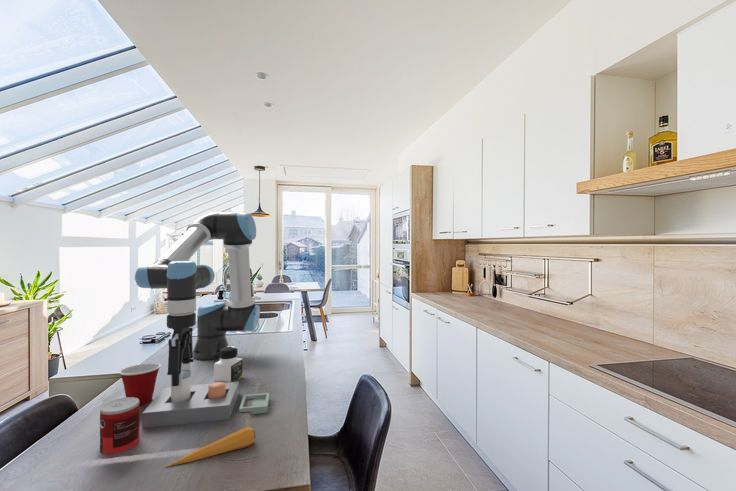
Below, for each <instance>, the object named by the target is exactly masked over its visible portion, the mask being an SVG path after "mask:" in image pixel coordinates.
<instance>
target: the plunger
mask: <svg viewBox="0 0 736 491" xmlns="http://www.w3.org/2000/svg"><path fill="white" fill-rule="evenodd" d="M226 383H227V382H226V381H214V382H213V383H209V384H210V385H209V386H208V399H215V398H226Z"/></svg>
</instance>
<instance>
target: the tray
mask: <svg viewBox="0 0 736 491" xmlns="http://www.w3.org/2000/svg"><path fill="white" fill-rule="evenodd" d="M251 399H252V401H251V405H250V406H245V403H246V400H251ZM269 404H270V392H263V393H252V394H243V396H242V399H241V402H240V404H239V408H238V413H246V412H248V415H257V414H258V415H259V414H267V413H268V409H269Z"/></svg>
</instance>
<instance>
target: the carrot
mask: <svg viewBox="0 0 736 491" xmlns="http://www.w3.org/2000/svg"><path fill="white" fill-rule="evenodd" d="M255 439H256V431H255V430H254V429H253V428H252V427H251V426H246V427H243V428H241V429H239V430H237V431H235V432H233V433H231V434H228V435H226V436H224V437H222V438H220V439H218V440H216V441H214V442H211V443H209V444H208V445H205V446H203V447H200V448H199V449H196V450H194V451H192V452H190V453H188V454H186V455H185V456H182V457H181V458H178V459H177V460H175V461H173V462H172V463H169V464H167V465H165V468H168V467H173V466H178V465H182V464H186V463H190V462H194V461H198V460H201V459H205V458H210V457H215V456H218V455H222V454H224V453H228V452H233V451H236V450H241V449H244V448H247V447H251V445H253V444H254V443H255Z"/></svg>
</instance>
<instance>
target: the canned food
mask: <svg viewBox="0 0 736 491" xmlns="http://www.w3.org/2000/svg"><path fill="white" fill-rule="evenodd" d="M140 409H141V406H140V402H139V399H138V398H134V397H126V396H125V397H121V398H117V399H113V400H110V401H108V402H106V403H104V404H103V405H102V406H101V407H100V410H99V452H100V453H101V454H104V455H115V454H121V453H123V452H126V451H128V450H130V449H132V448H133V447H135V446H136V445H138V443H139V442H140V422H141V421H140V419H141V418H140V416H141V415H140V414H141V413H140V411H141V410H140ZM108 458H111V456H109V457H108Z"/></svg>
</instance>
